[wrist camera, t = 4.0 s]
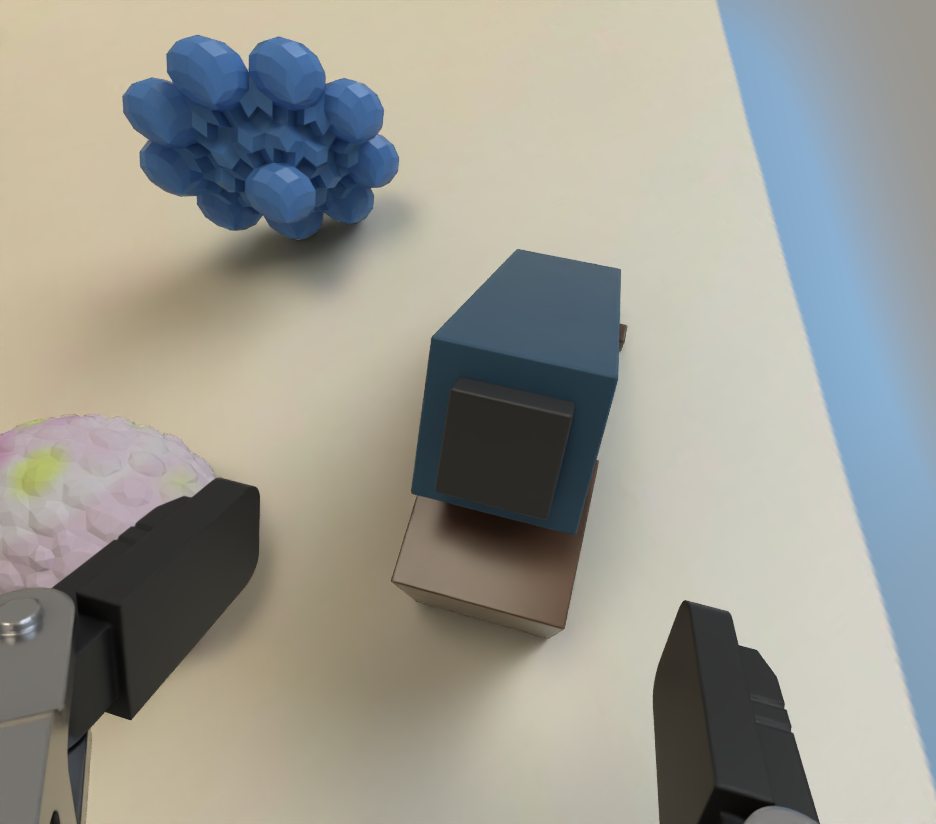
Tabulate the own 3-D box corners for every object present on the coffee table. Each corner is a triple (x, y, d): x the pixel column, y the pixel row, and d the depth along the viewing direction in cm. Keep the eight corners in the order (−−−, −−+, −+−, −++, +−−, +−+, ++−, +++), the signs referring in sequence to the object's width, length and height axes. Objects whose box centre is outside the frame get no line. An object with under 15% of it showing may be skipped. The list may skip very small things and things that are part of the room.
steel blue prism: (549, 580, 28) (591, 511, 15) (441, 551, 29) (390, 460, 16) (609, 308, 33) (680, 74, 20) (515, 288, 34) (523, 50, 20)
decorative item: (222, 678, 23) (-69, 534, 18) (79, 701, 29) (-170, 598, 23) (307, 476, 29) (109, 324, 24) (174, 530, 35) (-7, 417, 29)
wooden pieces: (561, 642, 27) (579, 634, 21) (404, 598, 28) (376, 577, 22) (624, 334, 32) (654, 253, 26) (490, 306, 33) (488, 221, 27)
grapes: (212, 321, 34) (72, 151, 23) (200, 221, 36) (68, 24, 25) (426, 268, 34) (390, 78, 23) (399, 173, 37) (356, -39, 26)
